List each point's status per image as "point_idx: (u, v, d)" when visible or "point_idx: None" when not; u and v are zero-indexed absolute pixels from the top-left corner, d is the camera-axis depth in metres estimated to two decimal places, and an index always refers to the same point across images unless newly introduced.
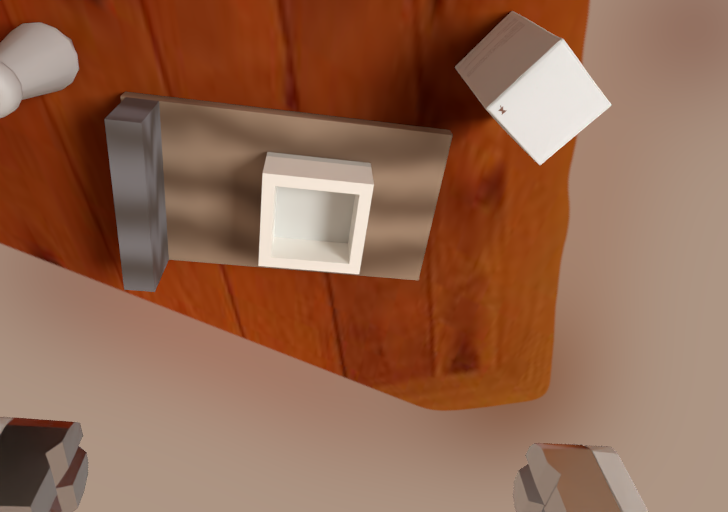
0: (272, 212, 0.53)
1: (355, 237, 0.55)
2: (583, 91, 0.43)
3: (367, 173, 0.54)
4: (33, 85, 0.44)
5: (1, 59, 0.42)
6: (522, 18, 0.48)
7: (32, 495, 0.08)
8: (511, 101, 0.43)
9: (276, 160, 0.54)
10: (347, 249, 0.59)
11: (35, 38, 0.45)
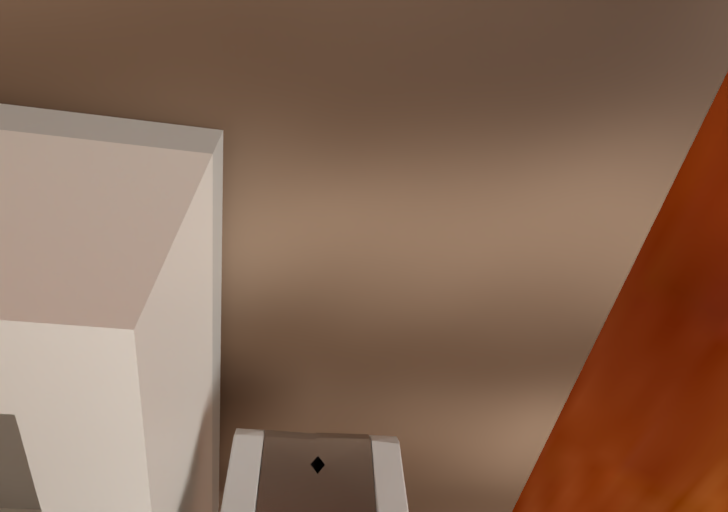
0: None
1: None
2: None
3: (149, 200, 0.07)
4: None
5: None
6: None
7: (314, 504, 0.08)
8: None
9: None
10: None
11: None
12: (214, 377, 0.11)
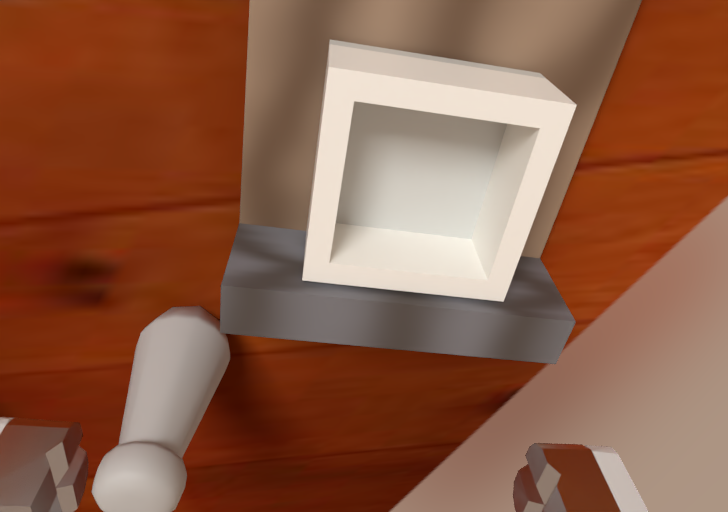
0: (386, 270, 0.27)
1: (468, 112, 0.23)
2: None
3: None
4: (163, 410, 0.29)
5: (120, 441, 0.29)
6: None
7: (32, 495, 0.08)
8: None
9: None
10: None
11: (134, 369, 0.33)
12: (432, 59, 0.26)
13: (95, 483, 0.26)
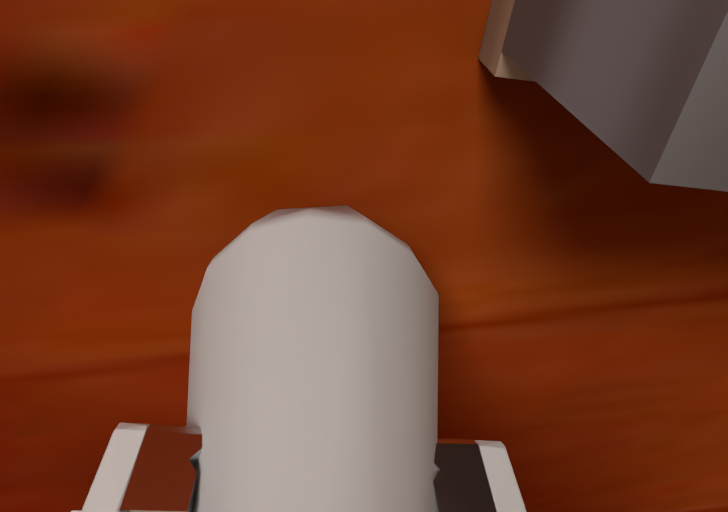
0: None
1: None
2: None
3: None
4: None
5: None
6: None
7: (186, 500, 0.08)
8: None
9: None
10: None
11: (200, 369, 0.10)
12: None
13: None
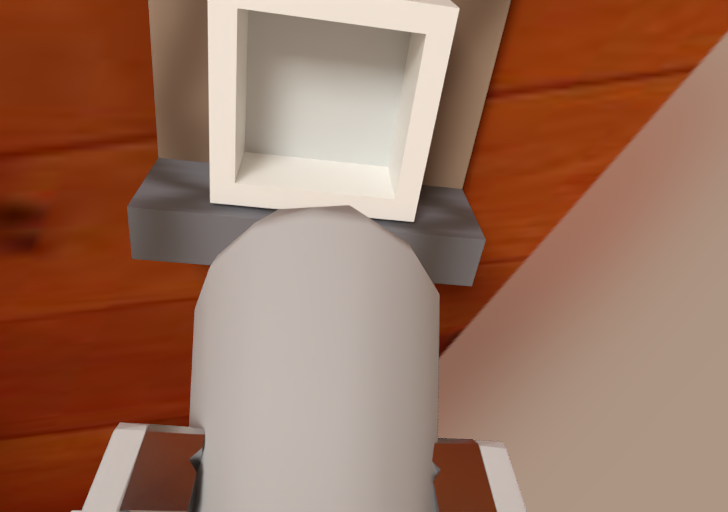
0: (292, 190, 0.28)
1: (352, 17, 0.23)
2: None
3: None
4: None
5: None
6: None
7: (185, 500, 0.08)
8: None
9: None
10: None
11: (203, 367, 0.11)
12: None
13: None
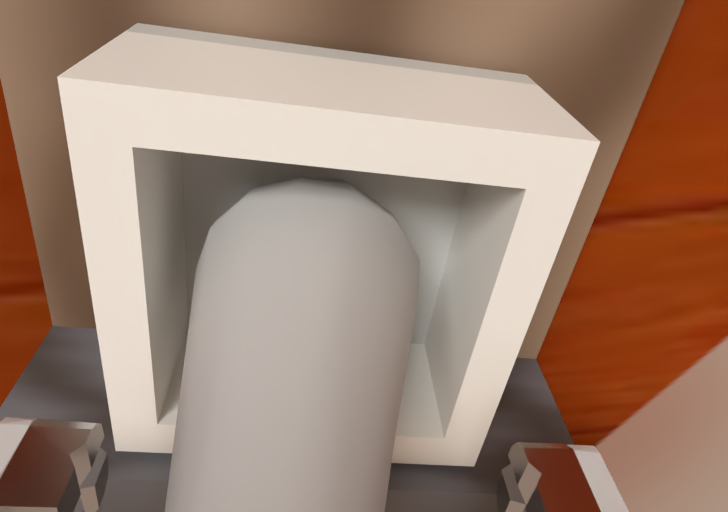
0: None
1: (376, 162, 0.11)
2: None
3: None
4: (316, 432, 0.08)
5: None
6: None
7: (58, 496, 0.08)
8: None
9: None
10: None
11: (198, 311, 0.12)
12: (327, 55, 0.14)
13: None
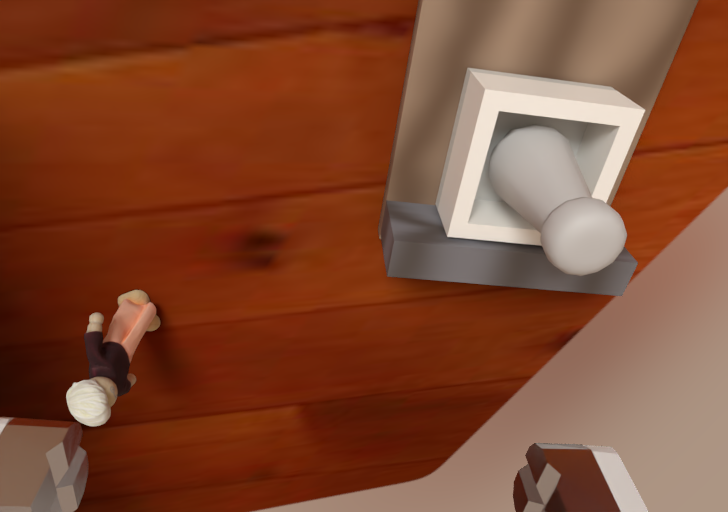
0: (506, 228, 0.39)
1: (573, 116, 0.35)
2: None
3: (474, 85, 0.36)
4: (579, 183, 0.32)
5: (543, 211, 0.32)
6: None
7: (32, 495, 0.08)
8: None
9: (442, 203, 0.41)
10: None
11: (513, 167, 0.35)
12: (539, 79, 0.37)
13: (561, 227, 0.29)
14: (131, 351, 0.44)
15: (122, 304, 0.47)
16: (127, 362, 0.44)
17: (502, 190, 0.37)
